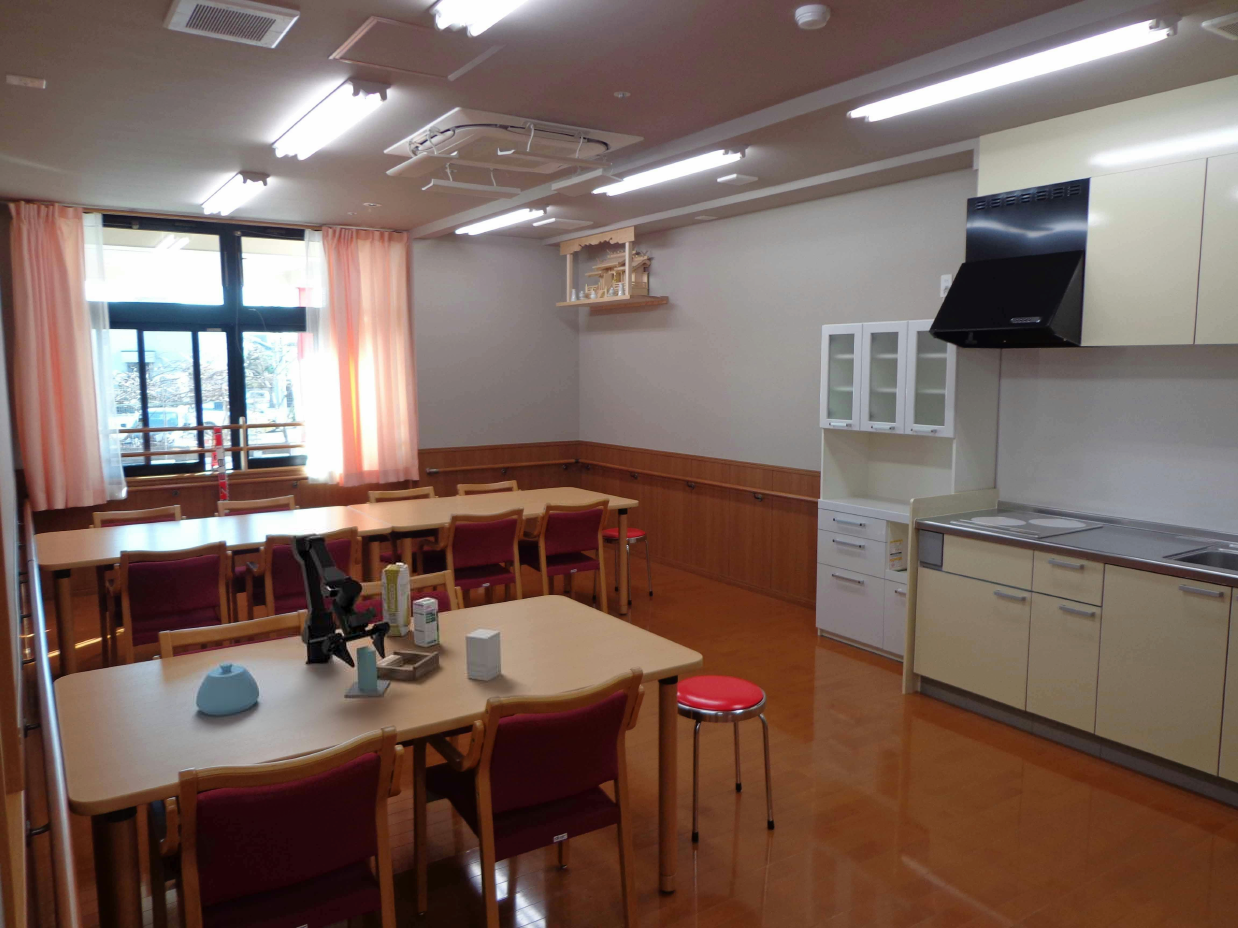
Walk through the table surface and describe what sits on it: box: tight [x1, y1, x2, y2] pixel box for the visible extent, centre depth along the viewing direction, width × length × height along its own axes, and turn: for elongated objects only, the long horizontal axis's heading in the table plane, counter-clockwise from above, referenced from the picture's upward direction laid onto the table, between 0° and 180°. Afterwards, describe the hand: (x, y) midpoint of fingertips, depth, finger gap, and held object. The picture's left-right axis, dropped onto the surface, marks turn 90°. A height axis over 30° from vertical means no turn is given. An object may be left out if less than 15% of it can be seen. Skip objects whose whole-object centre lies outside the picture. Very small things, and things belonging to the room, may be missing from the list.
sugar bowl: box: [195, 662, 260, 717], centre depth 216 cm, size 15×15×12 cm
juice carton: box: [381, 562, 412, 637], centre depth 277 cm, size 9×8×24 cm
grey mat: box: [343, 680, 391, 698], centre depth 227 cm, size 10×10×1 cm
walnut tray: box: [376, 649, 440, 681], centre depth 243 cm, size 16×14×4 cm
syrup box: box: [412, 597, 440, 648], centre depth 266 cm, size 6×6×14 cm
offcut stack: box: [376, 655, 405, 667], centre depth 244 cm, size 4×10×3 cm, turn 164°
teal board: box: [356, 645, 378, 692], centre depth 227 cm, size 5×3×11 cm, turn 47°
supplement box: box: [465, 628, 502, 682], centre depth 237 cm, size 7×7×13 cm
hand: (369, 662), depth 226 cm, fingers open, 9 cm apart
